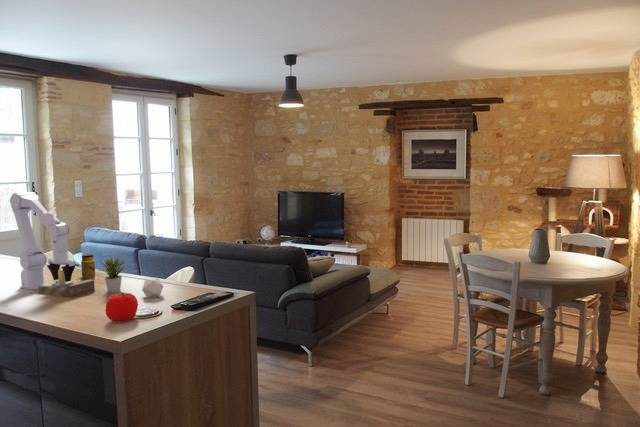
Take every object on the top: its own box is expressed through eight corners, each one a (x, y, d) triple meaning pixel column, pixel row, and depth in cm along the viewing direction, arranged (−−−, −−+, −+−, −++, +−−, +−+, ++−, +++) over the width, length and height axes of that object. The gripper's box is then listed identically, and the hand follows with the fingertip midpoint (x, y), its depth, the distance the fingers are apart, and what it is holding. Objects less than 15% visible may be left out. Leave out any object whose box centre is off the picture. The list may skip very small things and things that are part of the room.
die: (162, 294, 232) (148, 277, 231) (170, 288, 226) (156, 270, 226) (148, 305, 226) (134, 287, 225) (156, 298, 220) (142, 280, 220)
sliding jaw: (52, 288, 234) (51, 271, 233) (65, 285, 240) (63, 268, 239) (60, 289, 232) (59, 271, 231) (72, 286, 238) (71, 269, 237)
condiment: (97, 279, 260) (96, 255, 258) (78, 281, 255) (77, 257, 254) (94, 276, 266) (93, 252, 264) (76, 278, 261) (74, 254, 260)
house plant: (128, 294, 230) (127, 257, 228) (95, 296, 227) (92, 259, 225) (133, 286, 244) (131, 251, 242) (101, 288, 241) (99, 253, 239)
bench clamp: (37, 292, 235) (36, 281, 234) (60, 286, 246) (59, 275, 245) (72, 297, 226) (71, 286, 225) (94, 291, 236) (94, 280, 236)
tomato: (122, 327, 186) (121, 298, 185) (98, 323, 191) (96, 295, 189) (146, 317, 197) (145, 290, 196) (123, 314, 201) (121, 287, 200)
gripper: (41, 250, 234) (43, 280, 235) (64, 253, 228) (66, 284, 229) (54, 248, 240) (56, 277, 242) (77, 250, 234) (79, 280, 236)
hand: (62, 280), depth 236 cm, fingers open, 7 cm apart
